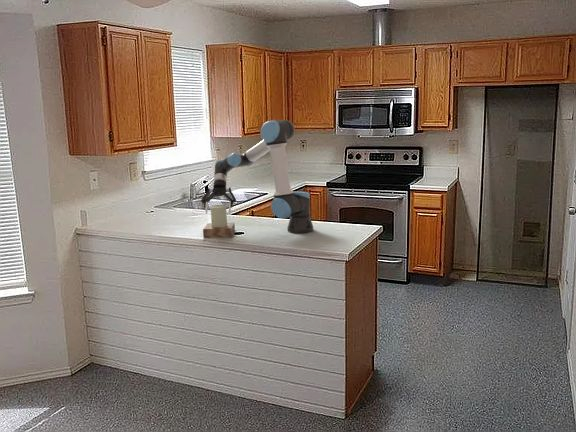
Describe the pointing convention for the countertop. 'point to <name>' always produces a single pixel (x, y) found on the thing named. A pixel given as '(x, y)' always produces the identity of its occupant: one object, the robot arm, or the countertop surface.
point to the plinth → (218, 231)
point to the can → (218, 216)
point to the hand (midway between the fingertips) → (217, 212)
